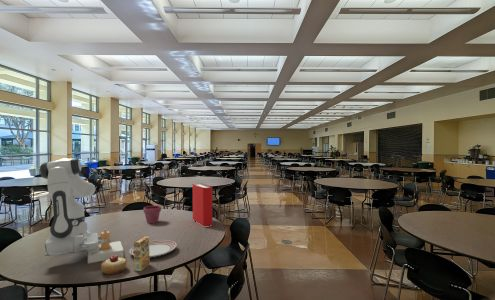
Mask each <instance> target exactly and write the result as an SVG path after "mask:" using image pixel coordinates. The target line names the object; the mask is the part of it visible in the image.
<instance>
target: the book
mask: <svg viewBox="0 0 495 300" xmlns="http://www.w3.org/2000/svg"><path fill="white" fill-rule="evenodd" d="M193 219H194V220H195V221H197V222H198V223H200V224H201V225H203V226H210V225H212V226H213V186H211V185H207V184H204V183H199V184H194V183H193V184H192V220H193ZM195 221H194V222H195ZM198 223H197V224H198Z"/></svg>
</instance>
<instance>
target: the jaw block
mask: <svg viewBox="0 0 495 300" xmlns="http://www.w3.org/2000/svg"><path fill="white" fill-rule="evenodd" d="M100 236H101V240H103V239H107V242H105V243H102V244H101V251H102V250H108V249H110V243H111V241H110V240H111V238H110V230H107V228H104V229H103V231H100Z"/></svg>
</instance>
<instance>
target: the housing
mask: <svg viewBox="0 0 495 300" xmlns="http://www.w3.org/2000/svg"><path fill="white" fill-rule="evenodd" d="M113 255H117V256H118V258H119V257H121V258H122V257H123V258H124V247H123V244H122V242H121V241H120V240H118V241H112V242H111V241H110V249H108V250H102V251H101V244H99V247H98V248H97V249H90V250H87V264H94V263H98V262H104V261H106V260H107V259H110V257H111V256H113Z"/></svg>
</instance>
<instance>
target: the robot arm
mask: <svg viewBox="0 0 495 300" xmlns="http://www.w3.org/2000/svg"><path fill="white" fill-rule="evenodd" d="M82 169H83V168H82V163H81V160H80V159H78V158H74V157H73V158H72V157H71V158H68V157H62V158H60V159H57V160H52V161H46V162H43V163H41V165H40V166H39V174H40V176H41V177H42V178H43V179H45V180H47V190H48V191H47V192H48V195H49V198H50V200H51V202H52V203H51V204H52V211H53V219H52V223H51V226H50V229H49V231H50V232H49V233H50V234H49V237H48V238H47V240H46V241H44V248H45V251H46V252H45V253H46V254H47V253H48V254H49V255H51V256H56V255H62V254H63V255H64V254H66V253H75V252H81V251H88V250H90V249H97V248H98V247H99V244H102V243H105V242H107V239H103V240H101V235H99V234H98V233H97V232H90V230H88V222H86V218H85V217H86V216H85V206H84V204H83V203H81V202H79V201H78V200H76V199H80V198H88V197H92V196H93V195H94V194H95V192H96V191H95V190H96V188H95V185H94V183H92V182H89V181H87V180H85V179H84V178H82V177H81V176H80V173H81V171H82ZM49 255H48V256H49Z"/></svg>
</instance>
